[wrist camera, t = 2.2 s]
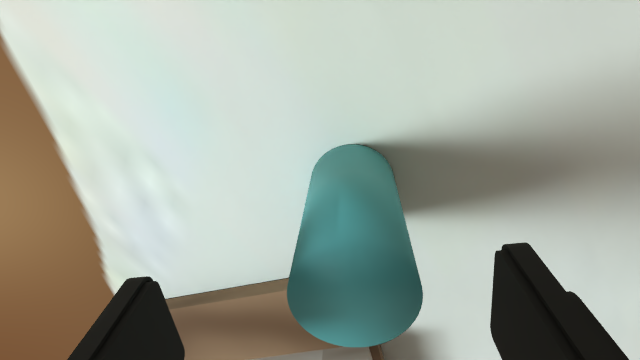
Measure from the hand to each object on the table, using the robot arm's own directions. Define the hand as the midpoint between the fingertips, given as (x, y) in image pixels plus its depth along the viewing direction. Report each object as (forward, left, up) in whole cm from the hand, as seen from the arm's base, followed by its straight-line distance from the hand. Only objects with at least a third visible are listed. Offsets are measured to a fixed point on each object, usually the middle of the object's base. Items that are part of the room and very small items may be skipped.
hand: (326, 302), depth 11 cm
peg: (-1, 0, -9) cm, 9 cm away
